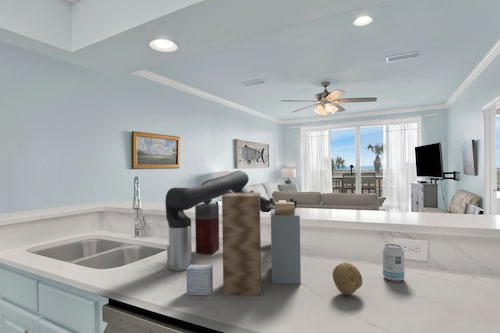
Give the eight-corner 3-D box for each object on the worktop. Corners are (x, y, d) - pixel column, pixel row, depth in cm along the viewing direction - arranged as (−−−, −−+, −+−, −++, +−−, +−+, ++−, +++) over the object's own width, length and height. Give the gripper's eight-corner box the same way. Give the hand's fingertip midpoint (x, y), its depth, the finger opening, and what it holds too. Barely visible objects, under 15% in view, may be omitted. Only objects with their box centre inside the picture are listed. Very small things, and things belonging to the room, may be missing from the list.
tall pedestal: (223, 295, 92) (222, 196, 92) (228, 280, 104) (227, 193, 104) (260, 295, 91) (258, 195, 91) (261, 280, 103) (259, 192, 103)
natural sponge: (348, 286, 97) (347, 257, 97) (369, 297, 89) (368, 265, 89) (327, 291, 93) (326, 261, 93) (347, 303, 85) (346, 270, 85)
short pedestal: (272, 283, 100) (271, 215, 101) (271, 267, 117) (270, 209, 117) (300, 283, 100) (299, 215, 100) (295, 267, 116) (295, 208, 116)
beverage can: (404, 277, 104) (403, 244, 104) (404, 284, 98) (403, 249, 98) (383, 274, 107) (383, 242, 108) (382, 280, 101) (381, 247, 101)
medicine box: (213, 290, 96) (213, 264, 96) (210, 296, 91) (209, 269, 91) (190, 289, 96) (190, 264, 96) (186, 295, 92) (185, 268, 92)
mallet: (294, 214, 102) (294, 203, 102) (275, 215, 102) (274, 203, 102) (290, 207, 122) (290, 197, 122) (273, 207, 122) (273, 198, 122)
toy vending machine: (221, 248, 146) (220, 193, 146) (212, 254, 136) (211, 196, 136) (205, 247, 149) (204, 193, 149) (195, 253, 138) (194, 195, 138)
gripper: (266, 202, 144) (266, 191, 130) (294, 203, 143) (297, 192, 129) (266, 216, 141) (265, 207, 127) (294, 218, 140) (297, 208, 125)
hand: (281, 199), depth 128 cm, fingers open, 8 cm apart
